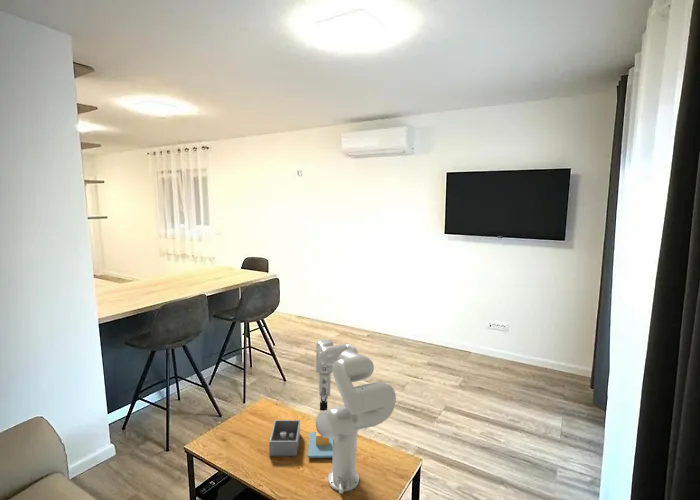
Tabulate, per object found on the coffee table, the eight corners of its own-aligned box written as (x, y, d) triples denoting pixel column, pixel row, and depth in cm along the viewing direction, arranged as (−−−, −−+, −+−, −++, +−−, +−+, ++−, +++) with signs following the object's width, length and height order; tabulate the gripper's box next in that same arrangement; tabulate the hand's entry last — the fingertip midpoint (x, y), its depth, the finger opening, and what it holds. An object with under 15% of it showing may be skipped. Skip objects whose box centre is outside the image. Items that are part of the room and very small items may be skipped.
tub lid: (336, 459, 165) (336, 445, 164) (307, 459, 164) (308, 446, 163) (335, 436, 181) (336, 423, 180) (309, 436, 180) (309, 423, 179)
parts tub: (296, 456, 166) (297, 441, 165) (269, 456, 166) (269, 441, 165) (299, 433, 182) (300, 420, 181) (274, 433, 181) (274, 420, 180)
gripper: (333, 376, 159) (332, 415, 161) (332, 359, 176) (332, 394, 178) (315, 376, 158) (314, 415, 161) (316, 359, 176) (316, 394, 178)
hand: (323, 404), depth 169 cm, fingers open, 9 cm apart
